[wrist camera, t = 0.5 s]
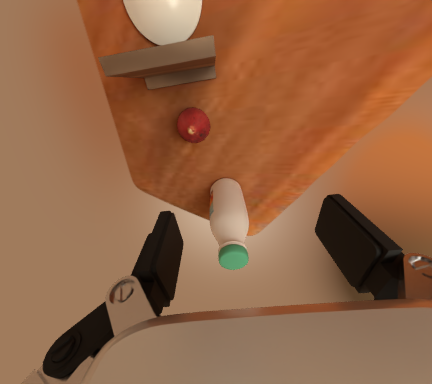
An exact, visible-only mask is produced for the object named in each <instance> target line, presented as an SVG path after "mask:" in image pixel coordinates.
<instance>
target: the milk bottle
mask: <svg viewBox="0 0 432 384" xmlns="http://www.w3.org/2000/svg"><path fill="white" fill-rule="evenodd" d="M210 226H211V230H212V232H213V235H214V237H215V238H216V240H217V241H218V244H219V246H220V247H219V250H218V252H219V263H220V265H221V266H222V267H224V268H226V269H230V270H235V269H240V268H242V267H244V266H245V265H246V264H247V263H248V253H247V248H246V246H245V245H244V243H245V238H246V235H247V232H248V228H249V219H248V214H247V210H246V206H245V202H244V198H243V194H242V190H241V187H240V185H239V184H238V183H237V182H236V181H235V180H233V179H230V178H223V179H219V180H217V181H216V182H215V183H214V184H213V185H212V187H211V190H210Z"/></svg>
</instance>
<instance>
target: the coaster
mask: <svg viewBox="0 0 432 384" xmlns="http://www.w3.org/2000/svg"><path fill="white" fill-rule="evenodd" d="M123 2H124V5H125V8H126V10H127V12H128V15H129V17H130V18H131V20H132V22H133V23H134V25H135V26H136V28H137V29H138V30H139V31H140V32H141V33H142V34H143V35H144V36H145V37H146V38H147V39H149V40H150V41H152V42H153V43H155V44H157V45H160V46H161V45H166V44H171V43H176V42H181V41H187V40H188V39H189V38H190V37H191V36H192V34H193V33H194V31H195V30H196V28H197V25H198V23H199V20H200V16H201V11H202V0H123Z"/></svg>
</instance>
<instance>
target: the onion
mask: <svg viewBox="0 0 432 384" xmlns="http://www.w3.org/2000/svg"><path fill="white" fill-rule="evenodd" d="M177 128H178V132H179V133H180V135H181V137H182V138H183V139H185V140H186V141H188V142H191V143H198V142H201V141H203V140H204V139H205V138H206V137H207V135H208V134H209V131H210V122H209V119H208V117H207V115H206V114H205V113H204V112H203V111H202V110H200V109H197V108H194V107H193V108H187V109H185V110H184V111H182V113H181V114H180V116H179V117H178V122H177Z"/></svg>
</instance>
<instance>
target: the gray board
mask: <svg viewBox="0 0 432 384" xmlns="http://www.w3.org/2000/svg"><path fill="white" fill-rule="evenodd" d="M215 57H216V55H215V46H214V37H213V35H212V36H207V37H202V38H197V39H192V40H187V41H181V42H176V43H171V44H166V45H161V46H156V47H150V48H145V49H140V50H135V51H130V52H125V53H119V54H114V55H109V56H104V57H99V58H98V59H99V61H100V63H101V66H102V68H103V70H104V73H105V75H106V76H110V77H131V78H145V82H146V85H147V88H148V90H150V89H156V88H161V87H167V86H173V85H178V84H184V83H190V82H195V81H201V80H207V79H212V78H216V73H215Z"/></svg>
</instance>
